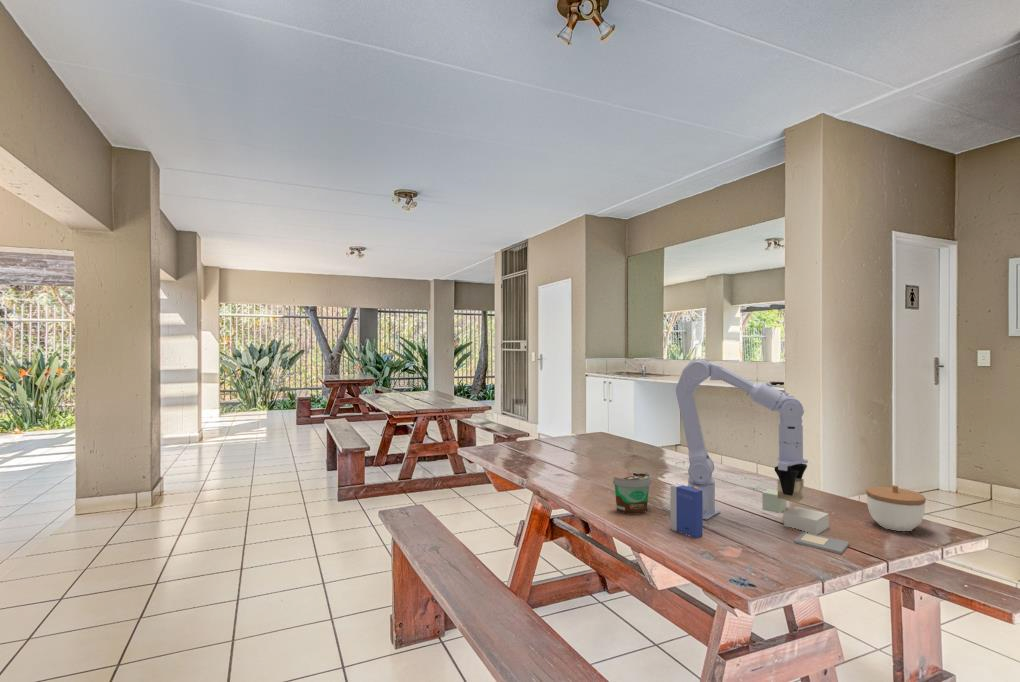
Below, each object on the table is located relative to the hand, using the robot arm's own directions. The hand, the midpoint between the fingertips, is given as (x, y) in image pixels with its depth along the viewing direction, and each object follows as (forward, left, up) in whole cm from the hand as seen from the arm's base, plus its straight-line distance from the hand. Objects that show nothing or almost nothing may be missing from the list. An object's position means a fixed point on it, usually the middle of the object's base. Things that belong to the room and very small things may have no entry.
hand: (791, 492), depth 141 cm
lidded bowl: (+16, -20, -9) cm, 28 cm away
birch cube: (0, 0, -2) cm, 2 cm away
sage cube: (+10, +8, -9) cm, 16 cm away
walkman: (-26, +18, -9) cm, 32 cm away
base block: (0, -3, -9) cm, 10 cm away
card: (-10, -9, -9) cm, 16 cm away
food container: (-20, +36, -9) cm, 41 cm away
